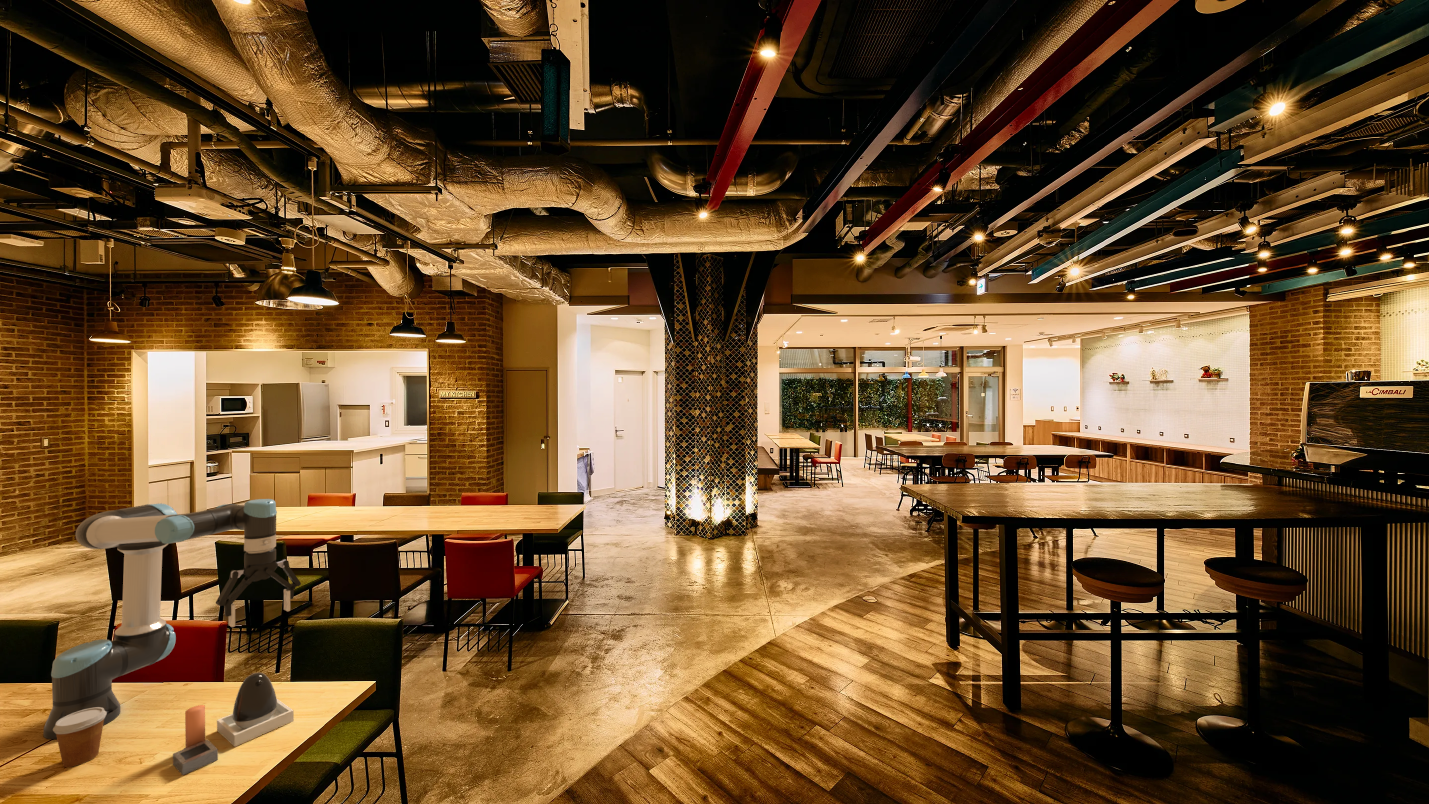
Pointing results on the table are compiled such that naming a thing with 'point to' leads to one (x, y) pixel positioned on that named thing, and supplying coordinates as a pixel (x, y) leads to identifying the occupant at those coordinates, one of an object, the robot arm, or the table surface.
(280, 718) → the dock cradle
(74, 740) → the disposable coffee cup
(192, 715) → the pin
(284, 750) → the table surface
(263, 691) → the dark piece
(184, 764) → the pin mount
